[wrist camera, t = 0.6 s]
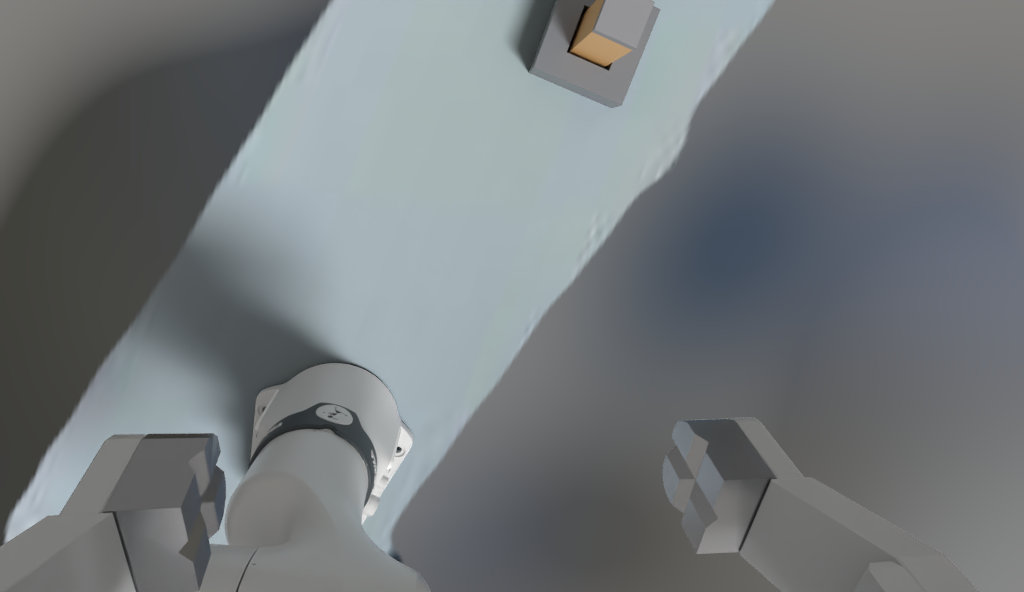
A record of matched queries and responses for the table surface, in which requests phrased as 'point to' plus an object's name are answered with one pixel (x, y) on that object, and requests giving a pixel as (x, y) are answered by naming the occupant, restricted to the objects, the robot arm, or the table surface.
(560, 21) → the grey square block
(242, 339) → the table surface
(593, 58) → the plug
